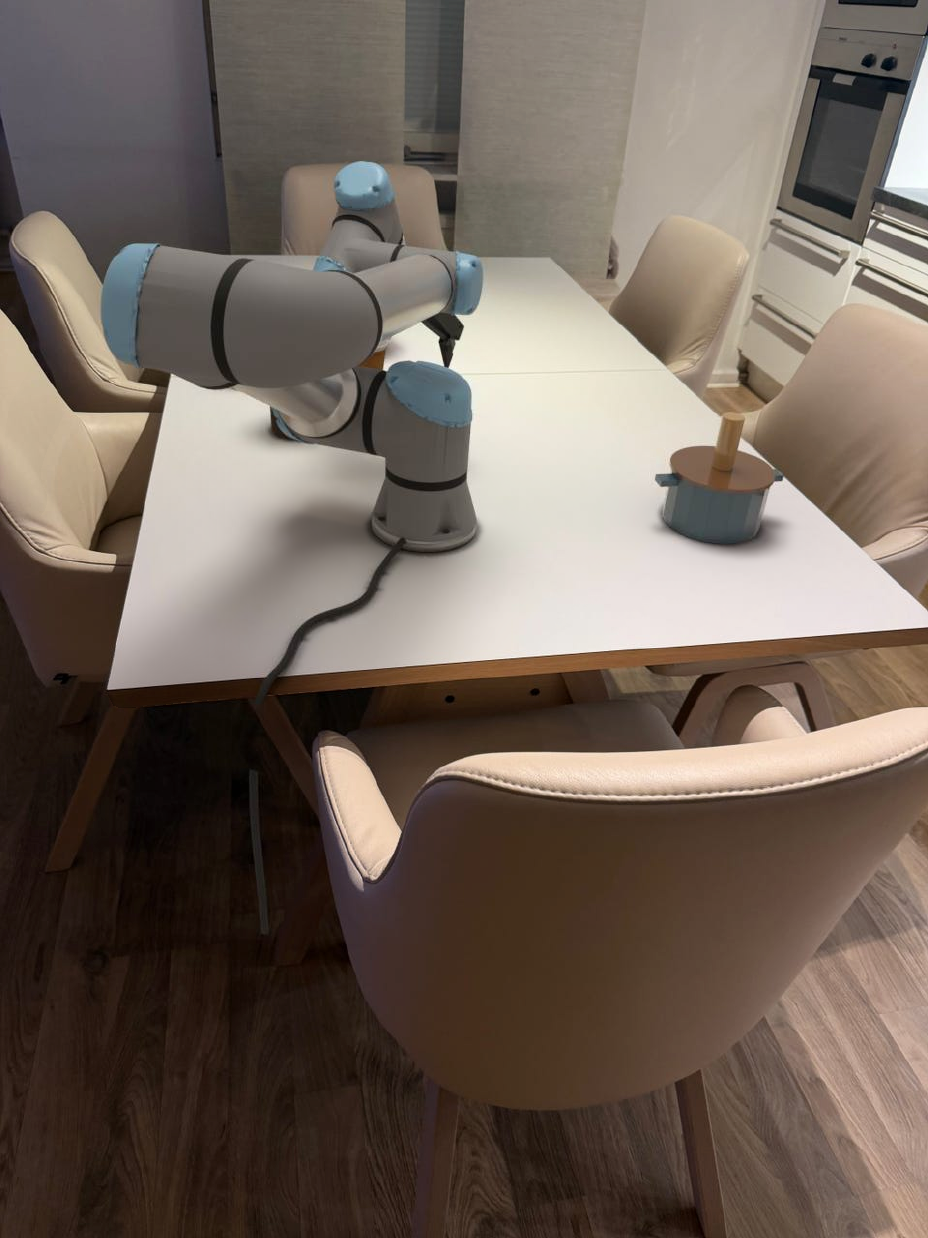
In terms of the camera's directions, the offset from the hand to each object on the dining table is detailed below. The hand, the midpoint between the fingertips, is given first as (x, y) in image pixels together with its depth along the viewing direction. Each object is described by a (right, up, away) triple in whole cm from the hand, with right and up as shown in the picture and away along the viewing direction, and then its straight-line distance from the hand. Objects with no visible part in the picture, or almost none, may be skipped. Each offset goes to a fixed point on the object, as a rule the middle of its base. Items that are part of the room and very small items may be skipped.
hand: (409, 354), depth 158 cm
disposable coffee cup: (-10, -1, +25) cm, 27 cm away
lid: (+48, -21, -15) cm, 54 cm away
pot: (+47, -28, -10) cm, 56 cm away
